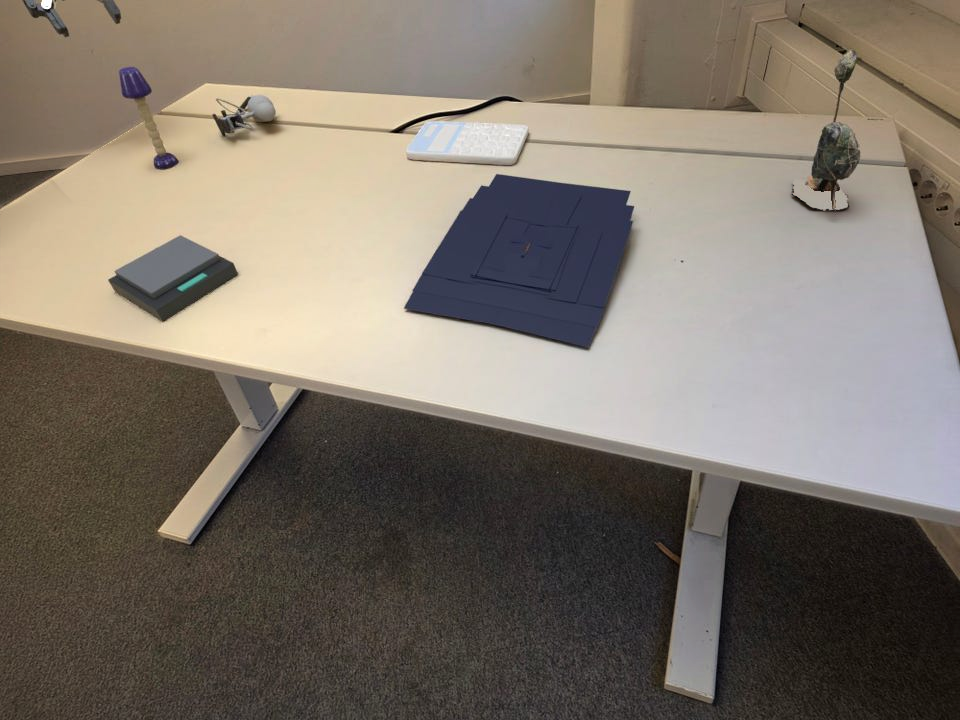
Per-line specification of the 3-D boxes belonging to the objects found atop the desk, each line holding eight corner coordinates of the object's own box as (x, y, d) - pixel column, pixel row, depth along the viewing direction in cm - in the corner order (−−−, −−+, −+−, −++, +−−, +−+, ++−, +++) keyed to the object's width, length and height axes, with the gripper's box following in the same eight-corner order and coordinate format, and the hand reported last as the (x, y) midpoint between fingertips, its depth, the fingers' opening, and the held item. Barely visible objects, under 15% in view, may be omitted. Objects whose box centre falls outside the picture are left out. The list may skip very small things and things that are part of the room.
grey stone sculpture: (786, 216, 87) (834, 69, 73) (790, 178, 94) (835, 39, 80) (849, 224, 84) (911, 74, 70) (848, 186, 91) (905, 43, 77)
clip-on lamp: (218, 131, 129) (227, 143, 114) (203, 100, 125) (210, 109, 111) (271, 112, 131) (285, 121, 117) (257, 81, 128) (271, 87, 114)
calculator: (515, 166, 103) (515, 156, 101) (404, 160, 107) (402, 150, 106) (530, 132, 112) (529, 122, 110) (427, 128, 116) (425, 118, 115)
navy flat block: (642, 208, 88) (645, 187, 85) (590, 363, 71) (591, 342, 68) (486, 187, 95) (484, 167, 93) (405, 322, 78) (399, 303, 76)
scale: (162, 321, 78) (152, 303, 76) (114, 291, 84) (103, 273, 82) (238, 274, 85) (231, 256, 83) (189, 249, 90) (181, 232, 88)
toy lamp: (176, 155, 114) (135, 62, 103) (185, 163, 112) (145, 68, 100) (151, 164, 112) (107, 70, 101) (160, 172, 110) (116, 76, 98)
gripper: (82, -52, 107) (135, 30, 109) (-7, -35, 100) (52, 52, 102) (75, -87, 100) (133, 1, 102) (-20, -71, 94) (43, 23, 95)
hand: (92, 27), depth 102 cm, fingers open, 8 cm apart
